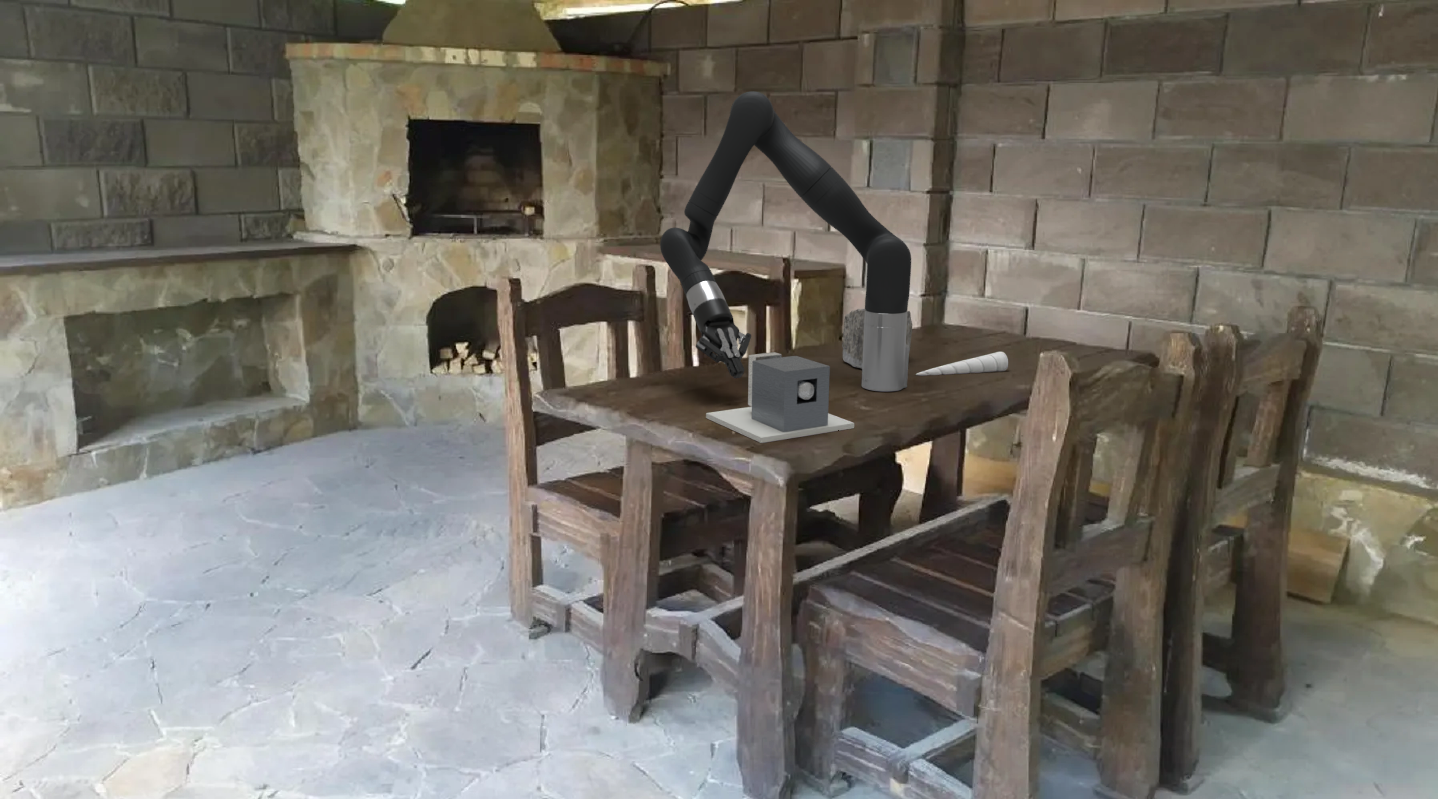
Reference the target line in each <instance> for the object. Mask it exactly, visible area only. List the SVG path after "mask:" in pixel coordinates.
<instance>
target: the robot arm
mask: <svg viewBox="0 0 1438 799" xmlns="http://www.w3.org/2000/svg"><path fill="white" fill-rule="evenodd" d="M754 146H755V148H757V150H759V151H760V152H761V153H762V154H763V155H765V156H766V158H768V159H769V160H770V161H771V163H772V164H773V165H774V166H775V167H776V169H777V170H778V172H779V173H780V174H781V176H782V177H783V178H784V180H785V181H786V182H787V183H788V185H789V186H790V187H791V188H792V189H793V191H794V192H795V193H796V194H797V196H798V197H800V198H801V199H800V200H802V201H803V202H804V203H805V204H806V205H807V206H808V207H809V208H810V209H811V210H812V211H813V212H814V213H815V214H817V216H818V217H820V218H821V219H822V220H824V222H826V223H827V224H829V225H830V226H831V227H833V229H835V230H836V231H837V232H839V233H840V234H841V235H843V236H844V237H845V238H846V240H848V241H849V242H850V244H851V245H852V247H854V248H855V250H856V251H857V252H858V253H859V255H860V256H861V257H862V259H863V261H865V263H866V284H865V285H866V286H865V288H866V289H865V297H864V309H865V316H864V341H863V364H862V368H861V387H862V388H863V389H866V390H869V391H875V392H898V391H901V390H903V389H904V388H905V389H906V388H907V387H908V375H909V361H908V359H910V358H909V356H910V355H909V354H910V351H909V346H908V345H907V344H906V329H907V311H908V306H909V301H910V300H909V299H910V292H911V290H910V287H911V275H912V274H911V272H912V255H911V251H910V249H909V247H908V246H907V244H906V243H905V242H904V241H903V240H902V239H901V238H899V237H898V236H896V235H895V234H894V233H892V232H891V231H890V230H889V228H887V227H885V226H884V225H883V224H882V223H881V222H880V221H879V220H878V219H876V218H875V217H874V215H873V214H872V213H870V212H869V210H868V209H867V208H866V206H865V205H864V204H863V202H862V201H861V198H859V196H858V195H857V193H856V192H855V191H854V190H853V189H852V187H851V186H850V185H849V184H848V183H847V181H846V180H845V179H844V178H843V177H842V175H840V174H839V173H838V172H837V171H836V170H835V169H834V167H833V166H832V165H830V163H829V162H827V160H826V159H824V158H823V157H822V156H821V155H820V154H818V153H817V152H816V151H815V150H813V149H812V148H811V147H809V146H808V145H807V144H806V143H804V142H803V141H802V140H800V139H799V138H798V137H797V136H795V134H794V133H793V132H792V131H791V130H790V129H789V128H788V126H787V125H786V123H784V122H783V120H782V119H781V118H780V117H779V116H778V114H777V113H776V111H775V110H774V106H773V104H772V102H771V100H770V99H769V98H768V97H767V96H766V95H765V94H764V93H763V92H759V91H755V90H754V91H753V90H752V91H747V92H743V93H741V94H740V95H739V96H737V97H736V98H735V100H734V101H733V103H732V105H731V107H730V112H729V117H728V119H727V123H726V127H725V129H724V132H723V134H722V137H721V139H720V142H719V144H718V146H717V148H716V150H715V153H714V154H713V156H712V158H711V160H710V162H709V163H708V165H707V167H706V169H705V170H704V172H703V174H702V175H701V177H700V179H699V181H698V182H697V185H696V186H695V188H694V190H693V192H692V193H691V195H690V198H689V200H688V202H687V204H685V208H684V210H683V212H684V215H685V217H686V218H687V219H688V220H689V226H688V230H686V229H683V228H681V227H671V228H667V229H666V230H665V231H664V233H663V234H662V235H661V238H660V242H659V246H660V252H661V254H662V257H663V259H664V261H665V262H666V264H667V265H668V267H669V268H670V270H671V271H672V273H673V274H674V275H675V276H676V278H677V279H678V281H679V282H680V285H681V286H682V289H683V292H684V294H685V297H686V300H687V303H688V306H689V309H690V311H691V314H692V317H693V318H694V321H695V323H696V325H697V328H698V330H699V332H700V333H701V335H700V336H701V337H700V338H699V340H698V341H697V342H696V344H695V347H696V348H697V349H698V350H699V351H701V352H702V353H703V354H704V355H706V356H707V357H708V358H710V359H711V360H713V362H715V363H723V364H724V365H725V367H726V368H727V371H728V373H729V375H730V376H731V377H733V379H740V378H742V376H743V375H744V373H745V366H744V365H743V363H742V361H741V360H742V359H743V358H744V356H745V355H746V353H747V351H748V347H749V345H750V342H751V340H752V334H751V333H748V332H747V333H743V332H741V331H740V329H739V327H738V326H737V325H736V324H735V321H734V316H733V314H732V311H731V309H730V307H729V305H728V303H727V301H726V299H725V296H724V293H723V291H722V290H721V289H720V286H719V285H718V283H717V281H716V279H715V277H714V274H713V272H712V270H711V268H710V267H709V265H707V264H706V263H705V262H704V261H703V259H704V257H705V256H706V255H707V252H708V248H709V245H710V241H711V237H712V233H713V230H714V224H715V221H716V220H717V217H718V216H719V215H720V213H721V211H722V209H723V207H724V205H725V204H726V200H727V199H728V197H729V194H730V193H731V190H732V188H733V186H734V183H735V181H736V178H737V176H738V174H739V172H740V169H741V168H742V166H743V164H744V161H745V160H746V158H747V156H748V155H749V153H750V151H751V150H752V148H753V147H754ZM737 341H738V342H737ZM738 345H739V347H738Z"/></svg>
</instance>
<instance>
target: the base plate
mask: <svg viewBox="0 0 1438 799" xmlns="http://www.w3.org/2000/svg"><path fill="white" fill-rule="evenodd" d="M705 418H706V419H708V420H710V421H712V422H714V423H716V424H718V425H721V426H722V427H725V428H727V429H730V430H732V431H734V432H736V433H738V434H741V435H742V436H745V437H747V438H749V439H751V440H753V441H756V442H757V443H760V444H764V443H770V442H776V441H783V440H787V439H794V438H800V437H807V436H813V435H814V436H815V435H819V434H826V433H833V432H838V430H839V431H844V430H850V429H855V422H852V421H850V420H847V419H844V418H841V417H839V416H836V415H834V414H831V413H829V412H828V426H821V427H815V428H809V429H802V430H796V431H789V432H781V431H779V430H777V429H774V428H772V427H770V426H767V425H765V424H763V423H760V422H758V421H755V420H753V419H752V406H747V407H741V408H740V407H739V408H732V409H725V410H720V411H719V410H718V411H712V412H706V413H705Z"/></svg>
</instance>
